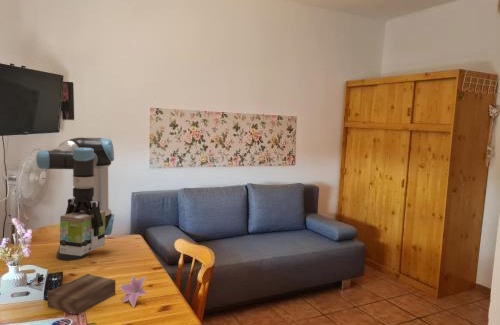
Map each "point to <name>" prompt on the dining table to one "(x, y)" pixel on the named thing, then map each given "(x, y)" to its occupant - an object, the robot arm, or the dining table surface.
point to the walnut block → (81, 293)
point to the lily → (133, 290)
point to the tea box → (79, 233)
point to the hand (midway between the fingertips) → (83, 242)
